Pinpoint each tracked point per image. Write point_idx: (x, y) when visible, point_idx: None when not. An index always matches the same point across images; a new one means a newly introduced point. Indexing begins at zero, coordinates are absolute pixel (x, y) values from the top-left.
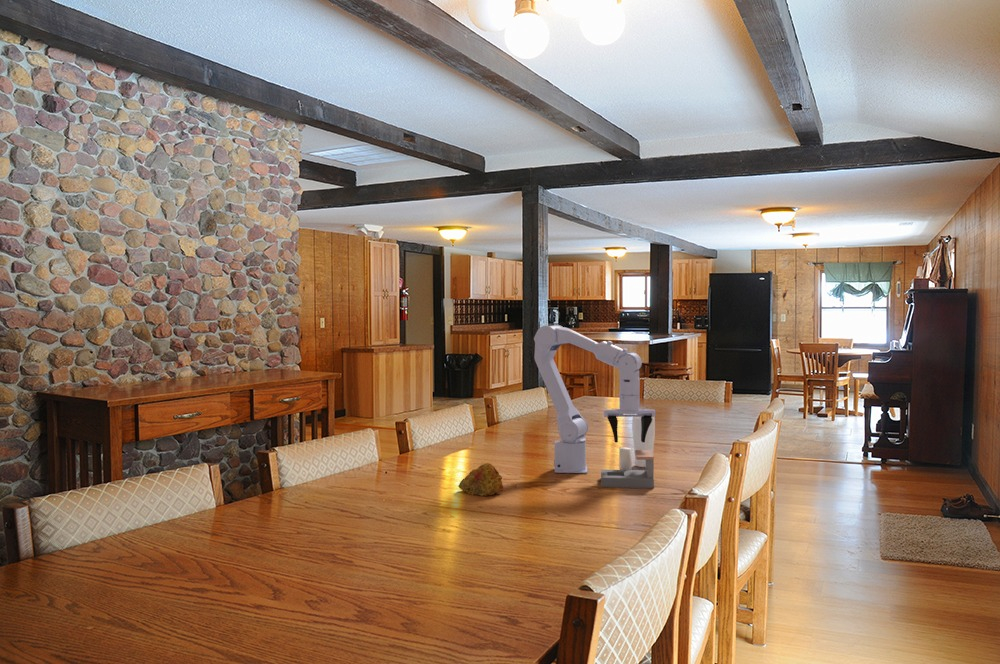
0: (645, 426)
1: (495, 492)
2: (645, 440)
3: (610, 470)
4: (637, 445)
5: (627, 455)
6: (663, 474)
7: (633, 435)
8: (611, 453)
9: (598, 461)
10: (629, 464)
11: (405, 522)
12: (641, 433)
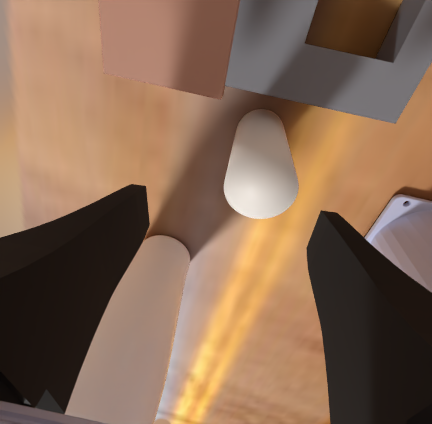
0: (39, 244)
1: None
2: (129, 303)
3: (358, 93)
4: (167, 297)
5: (259, 140)
6: (114, 144)
7: (170, 344)
8: (221, 354)
9: (278, 311)
10: (248, 127)
11: None
12: (127, 261)
